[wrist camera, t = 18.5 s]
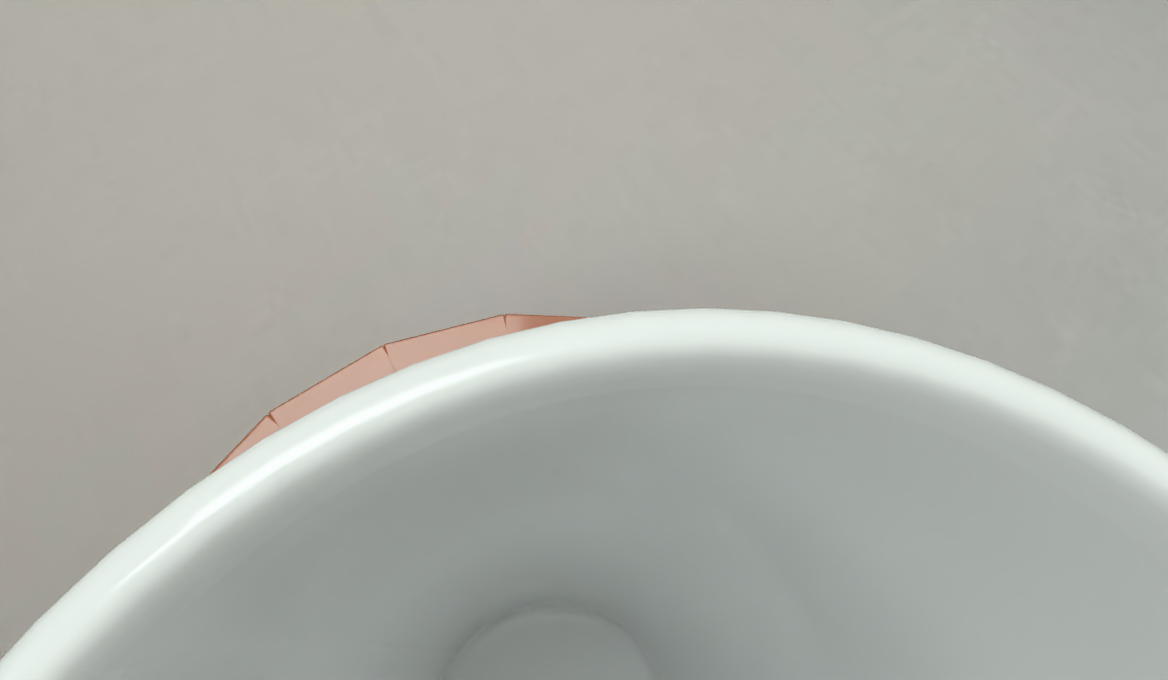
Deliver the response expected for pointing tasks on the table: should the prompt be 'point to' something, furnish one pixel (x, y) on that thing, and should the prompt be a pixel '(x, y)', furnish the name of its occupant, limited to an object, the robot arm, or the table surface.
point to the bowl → (387, 368)
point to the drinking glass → (651, 523)
